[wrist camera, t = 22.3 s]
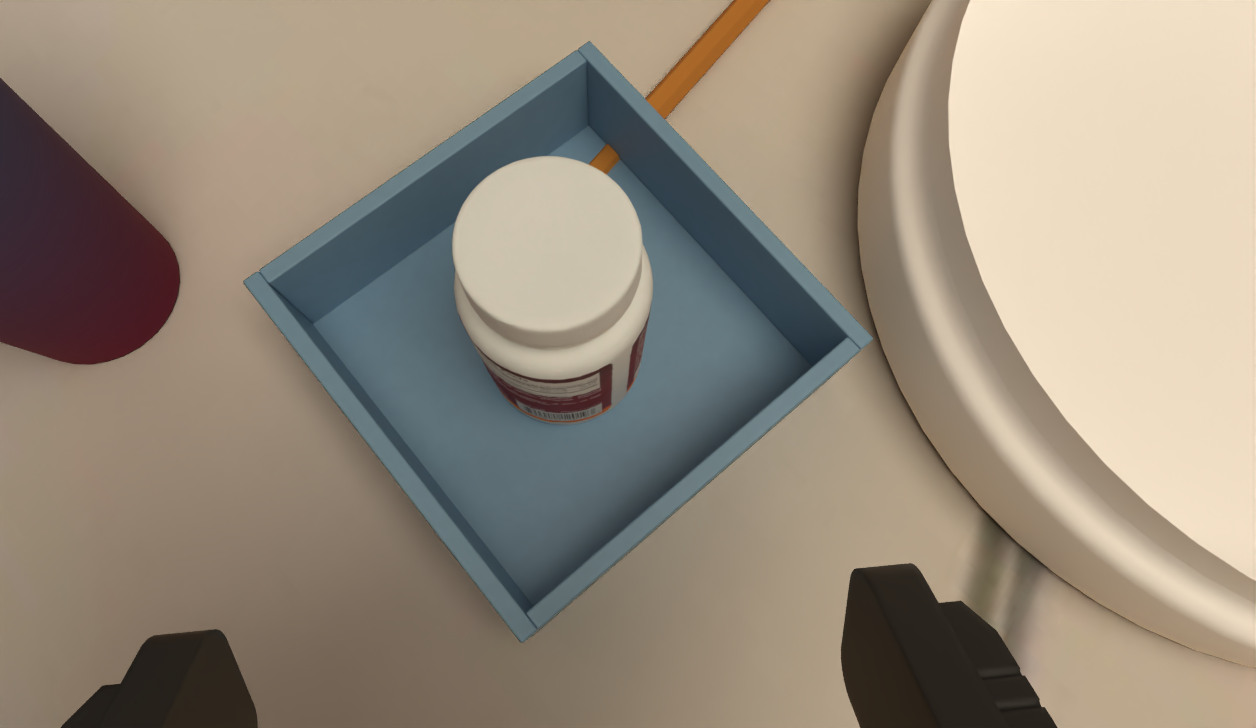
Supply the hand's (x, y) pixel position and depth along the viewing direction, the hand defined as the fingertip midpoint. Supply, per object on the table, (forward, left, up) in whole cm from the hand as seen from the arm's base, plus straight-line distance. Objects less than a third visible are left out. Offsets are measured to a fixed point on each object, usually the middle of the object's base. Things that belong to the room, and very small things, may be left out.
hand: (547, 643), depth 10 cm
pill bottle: (+5, +6, -13) cm, 15 cm away
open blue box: (+5, +6, -13) cm, 15 cm away
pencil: (+13, +11, -14) cm, 22 cm away
